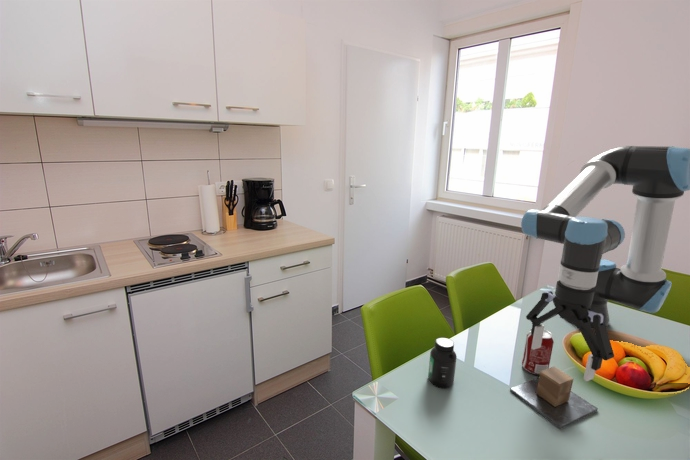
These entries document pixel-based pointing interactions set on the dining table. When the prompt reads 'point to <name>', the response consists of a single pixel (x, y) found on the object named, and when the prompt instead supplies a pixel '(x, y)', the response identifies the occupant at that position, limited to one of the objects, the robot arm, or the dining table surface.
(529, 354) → the soda can
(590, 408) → the slate serving board
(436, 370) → the supplement bottle
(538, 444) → the dining table surface
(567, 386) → the tan wooden cube
